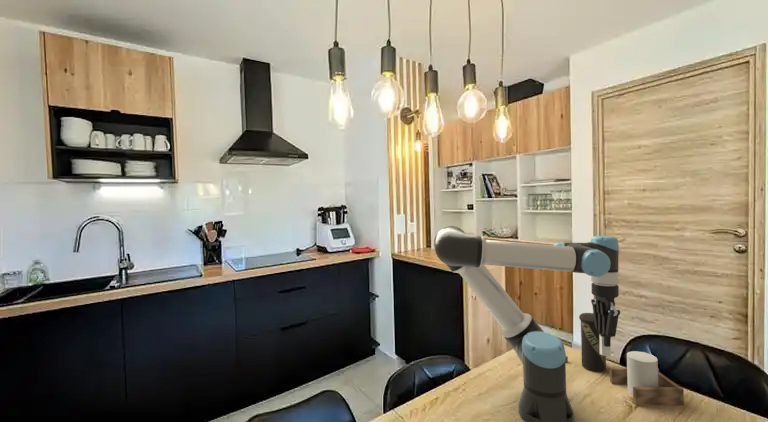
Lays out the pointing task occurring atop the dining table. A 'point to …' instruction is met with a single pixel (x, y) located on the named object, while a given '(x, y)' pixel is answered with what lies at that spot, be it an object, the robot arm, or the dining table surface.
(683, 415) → the dining table surface
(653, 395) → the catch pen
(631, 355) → the white cylinder
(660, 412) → the dining table surface
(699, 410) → the dining table surface
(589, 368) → the container
